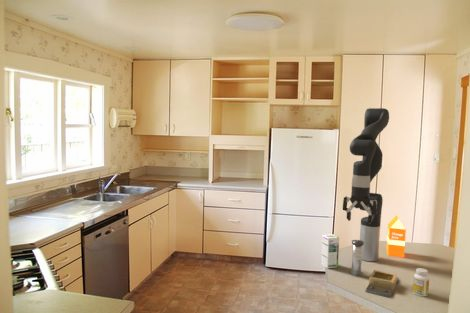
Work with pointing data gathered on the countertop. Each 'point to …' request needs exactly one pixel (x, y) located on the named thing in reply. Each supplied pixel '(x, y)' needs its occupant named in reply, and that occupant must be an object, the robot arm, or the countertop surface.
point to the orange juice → (396, 238)
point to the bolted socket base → (382, 283)
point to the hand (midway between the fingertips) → (359, 221)
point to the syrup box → (330, 251)
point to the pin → (357, 257)
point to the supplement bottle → (421, 282)
